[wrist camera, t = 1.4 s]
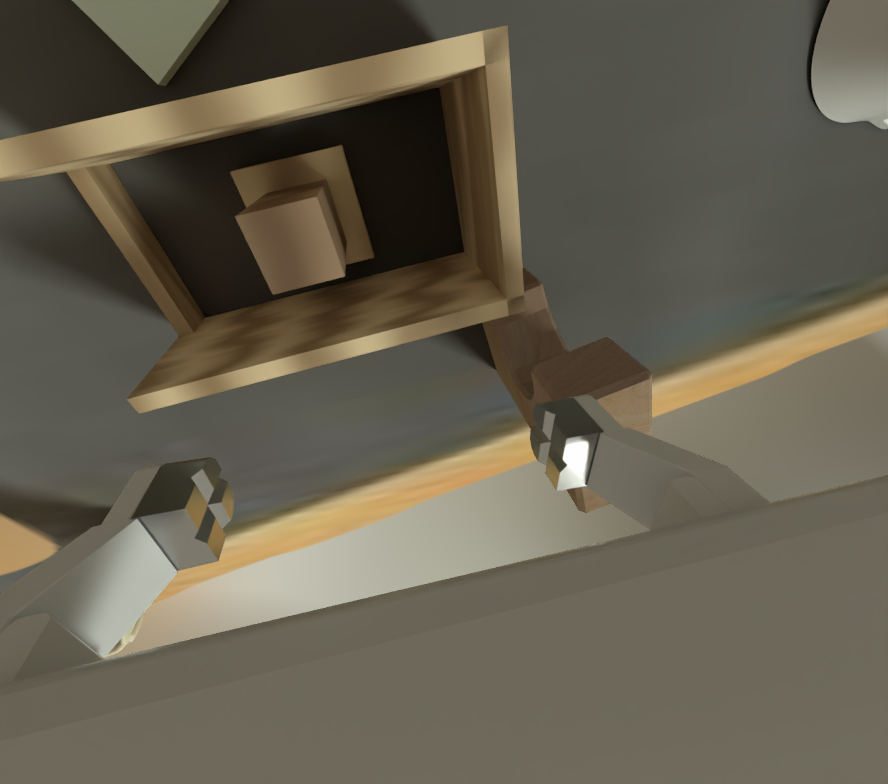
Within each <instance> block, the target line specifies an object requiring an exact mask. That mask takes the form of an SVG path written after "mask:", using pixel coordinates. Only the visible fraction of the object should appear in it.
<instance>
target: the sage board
mask: <svg viewBox="0 0 888 784" xmlns="http://www.w3.org/2000/svg"><path fill="white" fill-rule="evenodd" d="M72 1H73V2H74V3H75V4H76V5H77V6H78V7H79V8H80V9H81V10H82V11H83V12H84V13H85V14H86V15H88V16H89V17H90V18H91V19H92V20H93V21H94V22H95V23H96V24H97V25H98V26H99V27H100V28H101V29H102V30H103V31H104V32H105V33H106V34H107V35H108V36H109V37H110V38H111V39H112V40H113V41H114V42H115V43H116V44H117V45H118V46H119V47H120V48H121V49H122V50H123V51H124V52H125V53H126V54H127V55H128V56H129V57H130V58H131V59H132V60H133V61H134V62H135V63H136V64H137V65H138V66H139V67H140V68H141V69H142V70H143V71H144V72H145V73H146V74H147V75H148V76H149V77H151V78H152V79H153V80H154V81H155V82H156V83H157V84H158V85H161V86H166V85H167V84H168V82H169V81H170V80H171V78H172V77H173V76H174V74H175V73H176V72H177V70H178V69H179V68H180V66H181V65H182V64H183V62H184V61H185V60H186V58H187V57H188V56H189V54H190V53H191V52H192V50H193V49H194V48H195V46H196V45H197V43H198V42H199V41H200V39H201V38H202V37H203V35H204V34H205V33H206V31H207V30H208V29H209V27H210V26H211V25H212V23H213V22H214V21H215V19H216V18H217V17H218V15H219V14H220V13H221V11H222V10H223V9H224V7H225V6H226V5H227V3H228V2H229V0H72Z"/></svg>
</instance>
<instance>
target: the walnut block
mask: <svg viewBox="0 0 888 784" xmlns="http://www.w3.org/2000/svg"><path fill="white" fill-rule="evenodd" d="M235 218H236V220H237V222H238V224H239V226H240V228H241V230H242V232H243V234H244V236H245V239H246V241H247V243H248V245H249V247H250V249H251V251H252V253H253V255H254V257H255V259H256V261H257V263H258V265H259V267H260V270H261V272H262V274H263V276H264V278H265V280H266V282H267V284H268V286H269V288H270V290H271V292H272V294H273V295H274V294H278V293H282V292H286V291H290V290H294V289H298V288H302V287H306V286H310V285H314V284H318V283H321V282H325V281H329V280H333V279H337V278H341V277H345V266H346V249H347V240H346V237H345V234H344V231H343V228H342V225H341V222H340V219H339V216H338V213H337V210H336V207H335V204H334V201H333V198H332V195H331V192H330V188H329V185H328V182H327V179H324V180H320V181H315V182H311V183H307V184H303V185H299V186H295V187H290V188H286V189H282V190H278V191H274V192H270V193H266V194H265V195H263V196H262V197H261V198H259V199H258V200H257V201H255V202H254V203H252V204H251V205H250V206H248V207H247V208H246V209H244V210H243V211H242V212H240V213H239V214H238V215H236V216H235Z"/></svg>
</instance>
